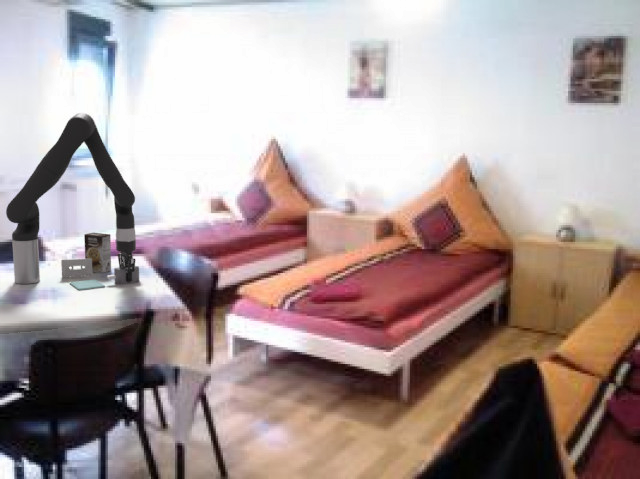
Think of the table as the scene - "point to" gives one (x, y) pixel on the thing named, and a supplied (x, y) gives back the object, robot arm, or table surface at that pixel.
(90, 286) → the teal rubber mat
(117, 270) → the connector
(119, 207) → the robot arm
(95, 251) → the coffee box
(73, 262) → the cassette
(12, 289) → the table surface
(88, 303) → the table surface
